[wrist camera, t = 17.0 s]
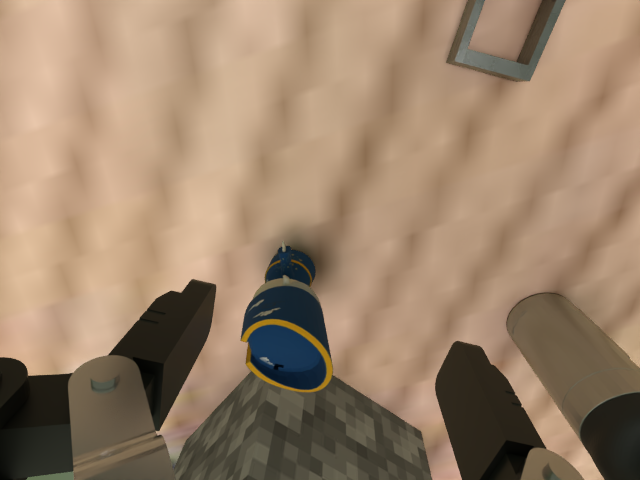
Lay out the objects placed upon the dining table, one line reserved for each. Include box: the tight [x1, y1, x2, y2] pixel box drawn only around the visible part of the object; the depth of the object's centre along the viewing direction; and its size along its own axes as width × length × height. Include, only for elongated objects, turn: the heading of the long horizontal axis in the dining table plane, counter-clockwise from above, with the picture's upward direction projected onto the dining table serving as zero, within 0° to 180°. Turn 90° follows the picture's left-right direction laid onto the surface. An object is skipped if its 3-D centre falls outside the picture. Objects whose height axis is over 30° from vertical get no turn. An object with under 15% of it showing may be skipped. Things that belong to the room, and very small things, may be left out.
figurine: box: [241, 241, 333, 392], centre depth 40 cm, size 13×9×20 cm
